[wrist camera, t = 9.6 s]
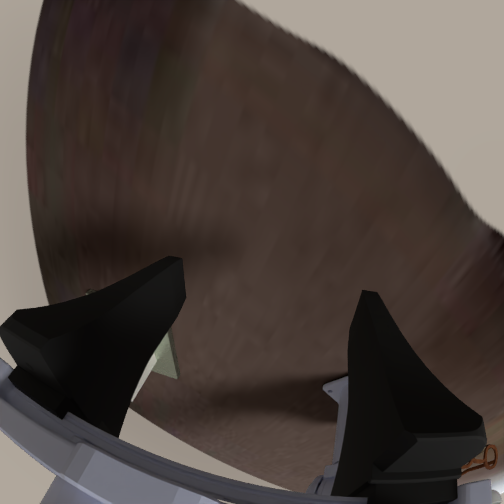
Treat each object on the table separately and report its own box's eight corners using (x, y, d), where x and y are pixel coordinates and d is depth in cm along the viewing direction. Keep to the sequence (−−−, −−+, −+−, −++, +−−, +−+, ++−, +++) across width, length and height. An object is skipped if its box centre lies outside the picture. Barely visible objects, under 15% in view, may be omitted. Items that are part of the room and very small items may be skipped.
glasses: (497, 443, 30) (501, 466, 26) (445, 472, 37) (445, 493, 33) (458, 436, 30) (461, 465, 26) (400, 467, 37) (399, 492, 33)
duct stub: (168, 311, 28) (147, 342, 24) (180, 374, 33) (165, 402, 29) (89, 288, 30) (66, 312, 26) (111, 350, 35) (94, 373, 31)
